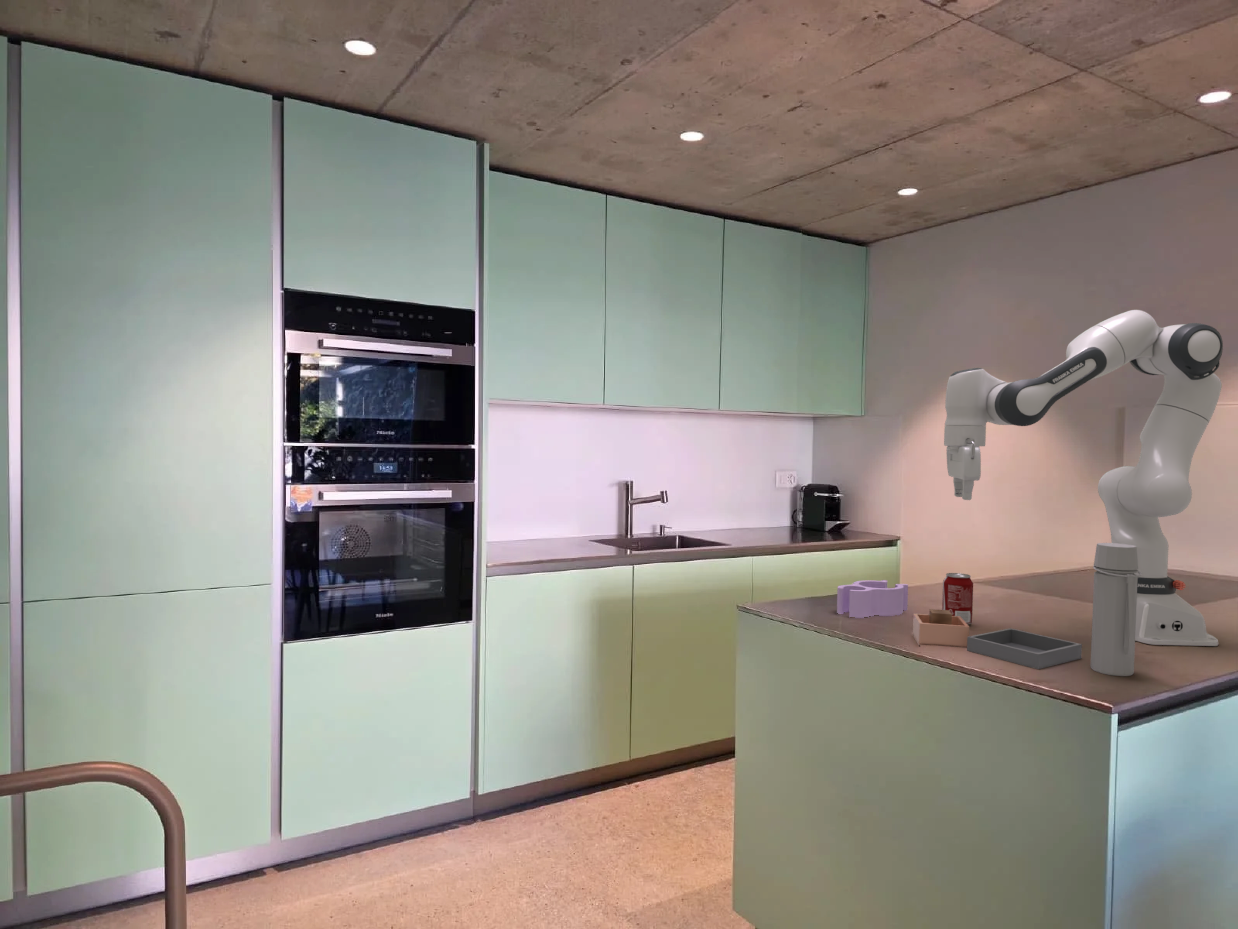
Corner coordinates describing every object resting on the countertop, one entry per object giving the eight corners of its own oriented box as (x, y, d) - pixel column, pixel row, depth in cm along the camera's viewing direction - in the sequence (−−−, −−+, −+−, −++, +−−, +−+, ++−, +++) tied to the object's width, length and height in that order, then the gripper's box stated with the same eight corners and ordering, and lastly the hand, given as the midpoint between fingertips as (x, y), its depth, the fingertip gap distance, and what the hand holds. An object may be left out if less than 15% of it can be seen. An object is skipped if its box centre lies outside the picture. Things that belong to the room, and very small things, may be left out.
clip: (863, 621, 198) (864, 593, 198) (825, 611, 208) (825, 585, 208) (915, 612, 209) (916, 586, 208) (876, 604, 219) (877, 578, 219)
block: (947, 637, 180) (948, 610, 180) (951, 641, 176) (951, 614, 176) (928, 635, 181) (929, 609, 180) (931, 640, 177) (932, 613, 177)
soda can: (974, 628, 192) (976, 578, 192) (944, 626, 194) (946, 576, 193) (968, 621, 199) (970, 573, 198) (939, 620, 200) (940, 571, 200)
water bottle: (1080, 668, 160) (1085, 542, 159) (1119, 668, 160) (1124, 542, 159) (1109, 682, 151) (1114, 549, 150) (1151, 683, 151) (1156, 549, 150)
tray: (1010, 644, 178) (1010, 628, 178) (1081, 661, 165) (1081, 644, 165) (966, 653, 170) (967, 636, 169) (1038, 672, 157) (1038, 654, 156)
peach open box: (959, 638, 182) (960, 616, 182) (968, 649, 172) (969, 626, 172) (912, 635, 184) (913, 613, 184) (918, 646, 174) (919, 623, 174)
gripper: (989, 438, 176) (987, 502, 177) (970, 438, 196) (968, 495, 197) (958, 438, 177) (956, 501, 178) (942, 438, 197) (941, 494, 198)
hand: (962, 498), depth 187 cm, fingers open, 8 cm apart
